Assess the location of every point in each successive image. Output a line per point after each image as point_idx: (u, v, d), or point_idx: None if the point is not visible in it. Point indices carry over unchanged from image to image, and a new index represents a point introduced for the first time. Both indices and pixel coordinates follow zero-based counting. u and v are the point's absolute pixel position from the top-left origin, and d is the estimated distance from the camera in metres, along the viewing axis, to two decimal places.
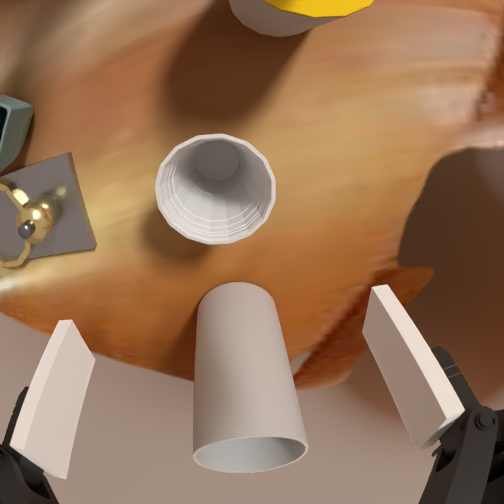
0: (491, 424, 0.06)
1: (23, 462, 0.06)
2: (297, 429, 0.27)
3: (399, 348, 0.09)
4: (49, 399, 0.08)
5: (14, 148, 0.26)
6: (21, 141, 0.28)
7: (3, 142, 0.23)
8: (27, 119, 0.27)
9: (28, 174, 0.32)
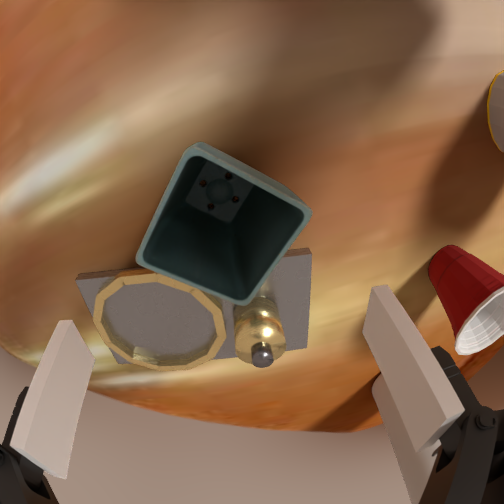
0: (491, 424, 0.06)
1: (23, 462, 0.06)
2: None
3: (399, 348, 0.09)
4: (49, 399, 0.08)
5: None
6: None
7: (278, 259, 0.21)
8: None
9: None
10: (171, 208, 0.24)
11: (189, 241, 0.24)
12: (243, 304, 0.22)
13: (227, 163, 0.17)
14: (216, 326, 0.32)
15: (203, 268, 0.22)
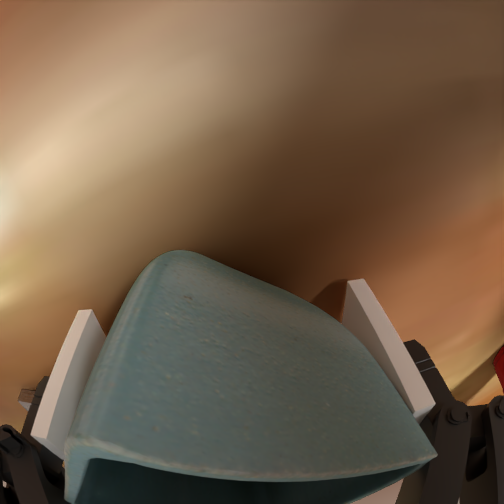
0: (464, 418, 0.06)
1: (43, 454, 0.07)
2: None
3: (372, 340, 0.10)
4: (71, 387, 0.09)
5: None
6: None
7: (341, 500, 0.07)
8: None
9: None
10: None
11: None
12: None
13: (245, 472, 0.03)
14: None
15: (194, 486, 0.09)
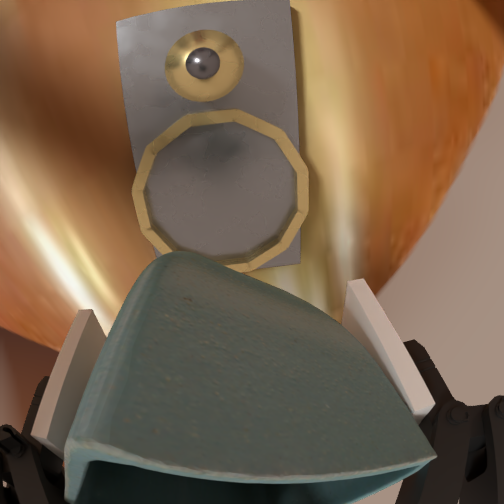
0: (464, 418, 0.06)
1: (43, 454, 0.07)
2: None
3: (372, 340, 0.10)
4: (71, 387, 0.09)
5: None
6: None
7: (341, 501, 0.07)
8: None
9: (136, 98, 0.21)
10: None
11: None
12: None
13: (245, 474, 0.03)
14: (214, 122, 0.22)
15: (194, 487, 0.09)
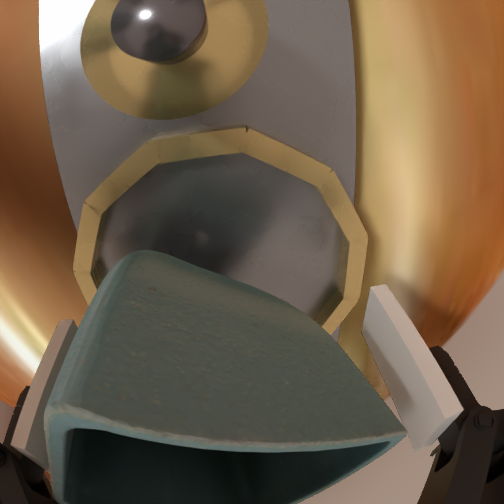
0: (490, 424, 0.06)
1: (24, 461, 0.06)
2: None
3: (398, 348, 0.10)
4: None
5: None
6: None
7: (320, 485, 0.08)
8: None
9: (66, 113, 0.11)
10: None
11: None
12: None
13: (205, 439, 0.04)
14: (203, 154, 0.11)
15: (177, 480, 0.09)
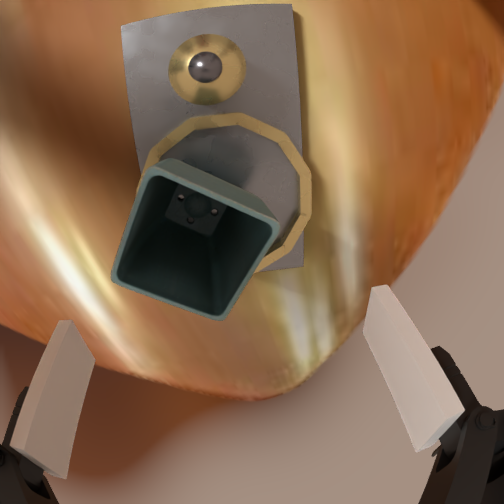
0: (491, 424, 0.06)
1: (23, 462, 0.06)
2: None
3: (399, 348, 0.09)
4: (49, 399, 0.08)
5: None
6: None
7: (251, 274, 0.20)
8: None
9: (141, 101, 0.21)
10: (149, 224, 0.24)
11: (167, 257, 0.24)
12: (219, 319, 0.22)
13: (187, 181, 0.16)
14: (217, 125, 0.22)
15: (179, 284, 0.22)
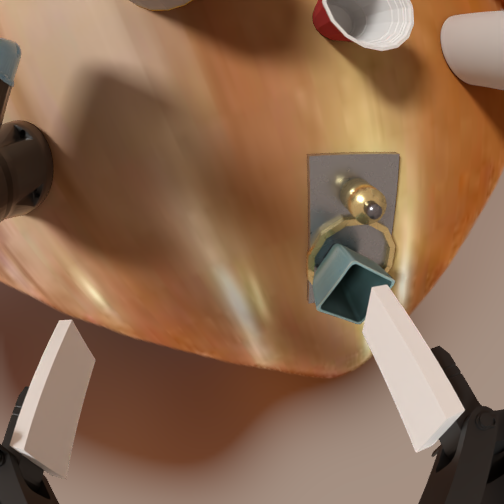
0: (491, 424, 0.06)
1: (23, 462, 0.06)
2: None
3: (399, 348, 0.09)
4: (49, 399, 0.08)
5: None
6: None
7: None
8: None
9: (317, 206, 0.42)
10: None
11: None
12: (359, 323, 0.42)
13: (366, 266, 0.37)
14: (357, 224, 0.43)
15: (340, 307, 0.43)
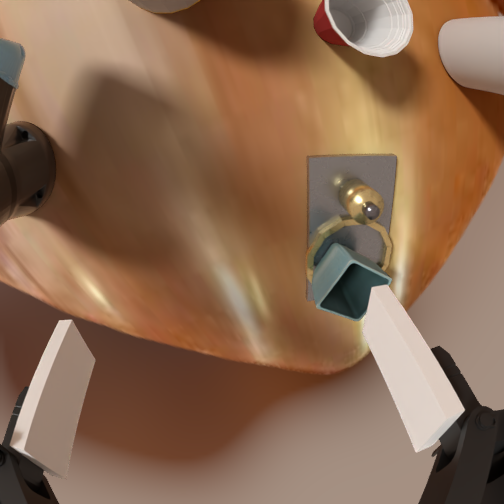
0: (491, 424, 0.06)
1: (23, 462, 0.06)
2: None
3: (399, 348, 0.09)
4: (49, 399, 0.08)
5: None
6: None
7: None
8: None
9: (316, 206, 0.43)
10: None
11: None
12: (357, 320, 0.44)
13: (364, 265, 0.38)
14: (355, 224, 0.44)
15: (338, 305, 0.44)
